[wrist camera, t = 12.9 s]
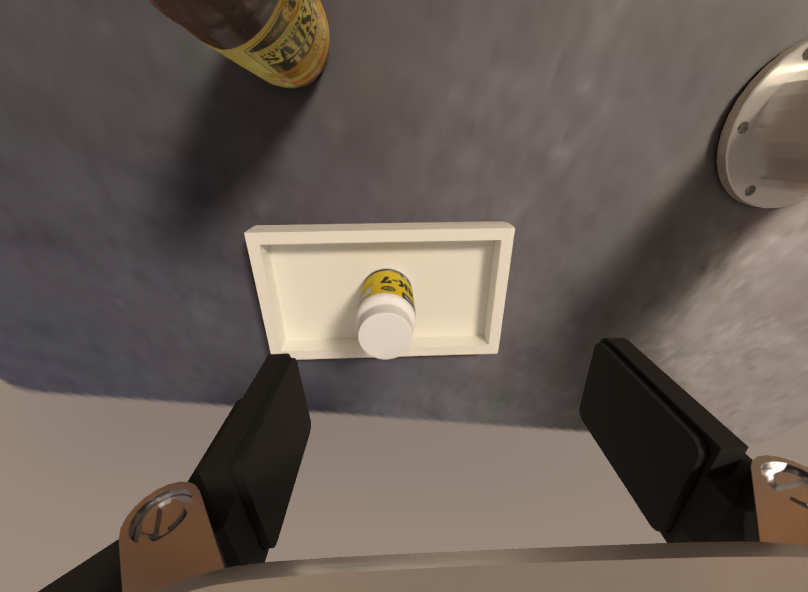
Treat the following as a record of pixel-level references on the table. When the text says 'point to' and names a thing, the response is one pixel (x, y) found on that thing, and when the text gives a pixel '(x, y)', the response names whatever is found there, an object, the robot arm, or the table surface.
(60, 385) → the table surface
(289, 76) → the sauce bottle
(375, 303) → the supplement bottle
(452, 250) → the tray
